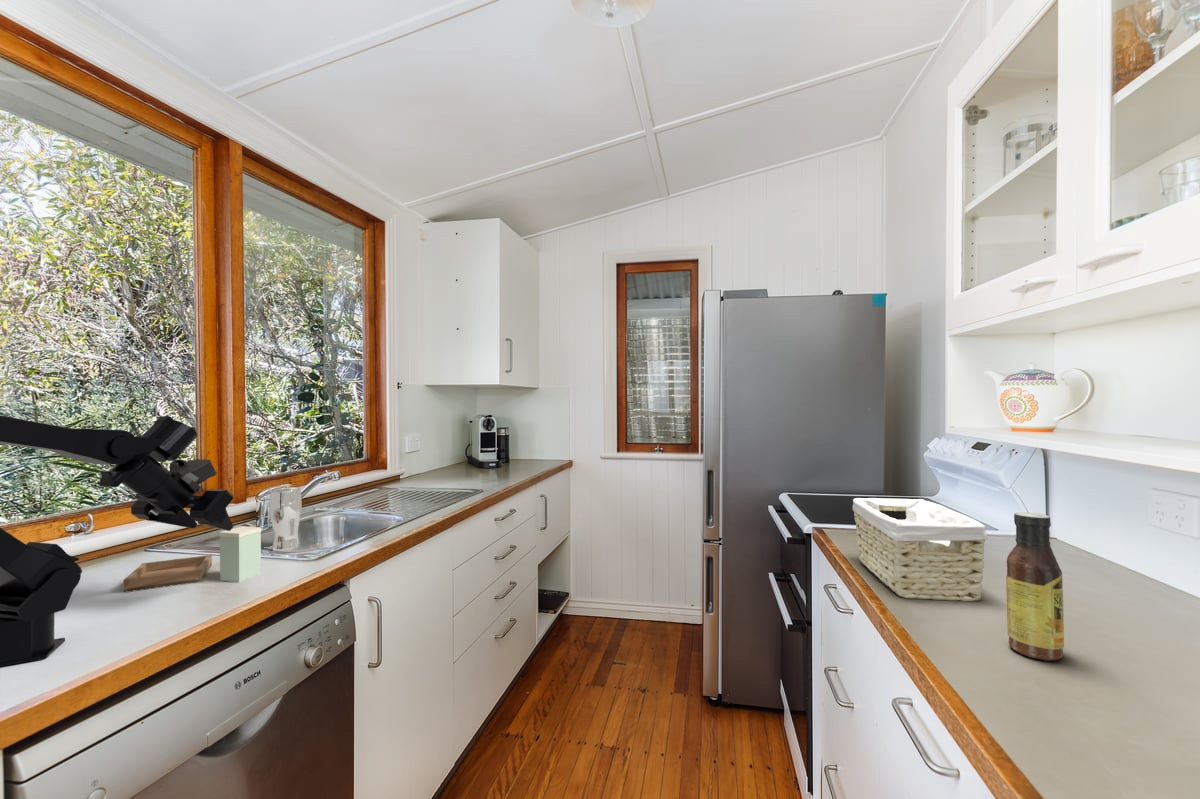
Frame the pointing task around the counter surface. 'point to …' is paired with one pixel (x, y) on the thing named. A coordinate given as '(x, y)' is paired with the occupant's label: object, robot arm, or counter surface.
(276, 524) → the beer glass
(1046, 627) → the sauce bottle
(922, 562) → the storage basket
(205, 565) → the tray
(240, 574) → the tea tin
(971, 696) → the counter surface
